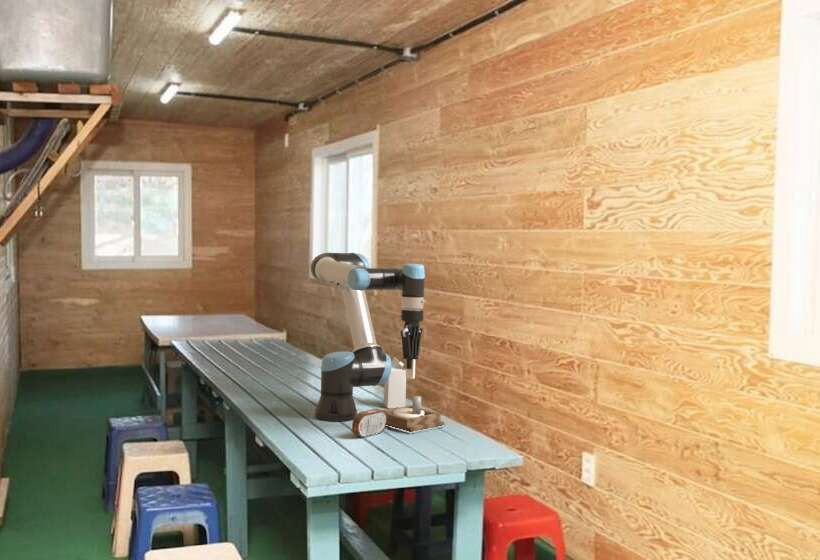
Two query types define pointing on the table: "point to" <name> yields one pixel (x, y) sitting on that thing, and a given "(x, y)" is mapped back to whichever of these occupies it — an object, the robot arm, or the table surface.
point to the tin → (369, 422)
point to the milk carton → (395, 386)
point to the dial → (411, 409)
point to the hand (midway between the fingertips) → (410, 378)
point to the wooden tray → (413, 420)
